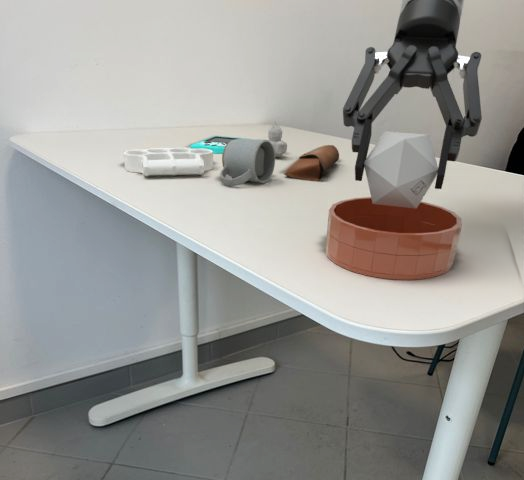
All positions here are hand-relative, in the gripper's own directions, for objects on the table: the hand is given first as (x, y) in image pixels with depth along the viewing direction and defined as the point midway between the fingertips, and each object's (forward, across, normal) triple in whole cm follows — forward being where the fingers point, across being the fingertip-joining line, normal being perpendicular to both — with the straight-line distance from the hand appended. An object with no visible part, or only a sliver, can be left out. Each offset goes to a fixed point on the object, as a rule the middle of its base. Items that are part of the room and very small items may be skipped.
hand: (398, 178), depth 62 cm
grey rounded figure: (-34, +31, -50) cm, 68 cm away
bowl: (+5, 0, -10) cm, 11 cm away
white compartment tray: (-19, +47, -34) cm, 61 cm away
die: (0, 0, -5) cm, 5 cm away
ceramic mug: (-16, +30, -32) cm, 47 cm away
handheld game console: (-39, +47, -55) cm, 82 cm away
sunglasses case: (-27, +20, -42) cm, 54 cm away
